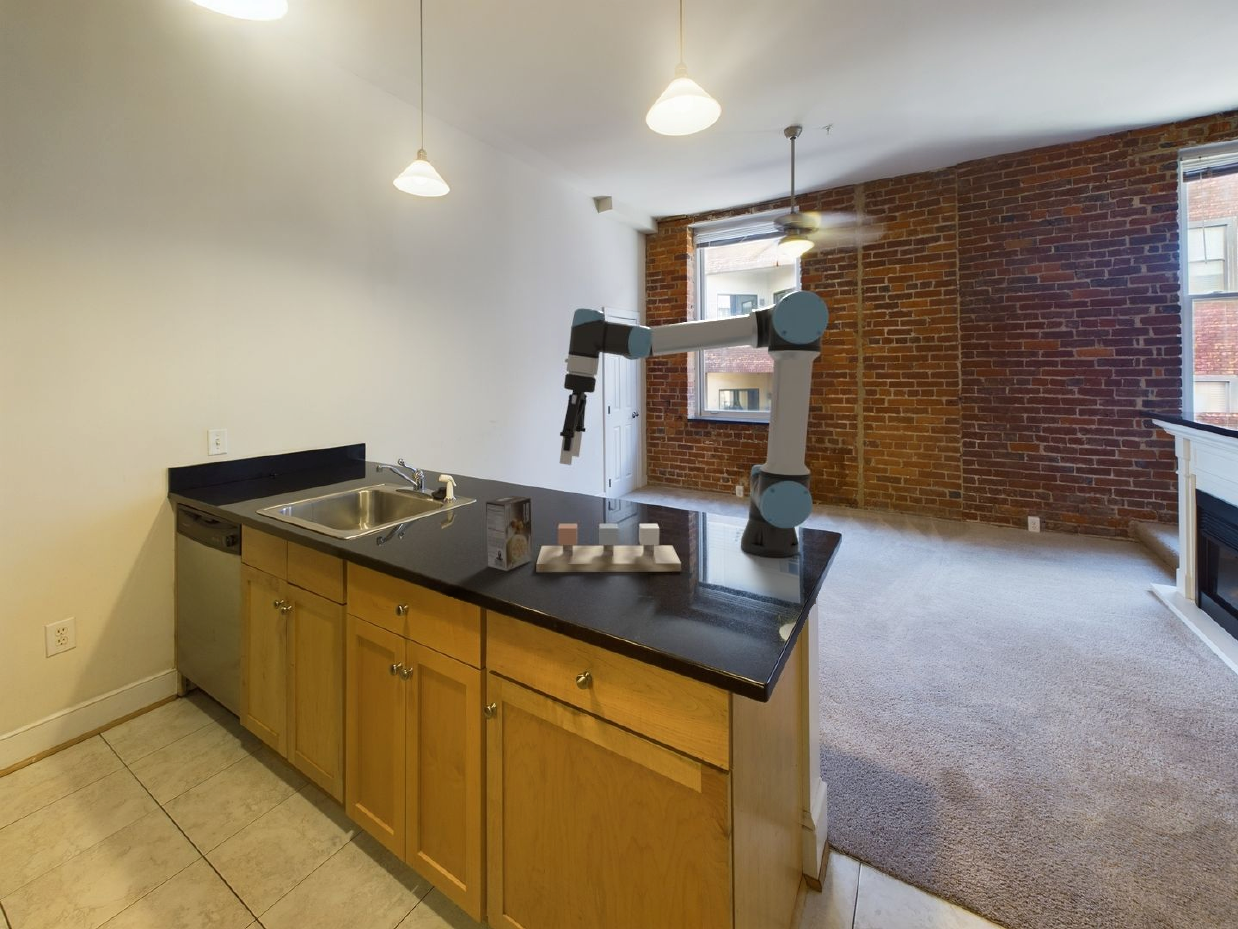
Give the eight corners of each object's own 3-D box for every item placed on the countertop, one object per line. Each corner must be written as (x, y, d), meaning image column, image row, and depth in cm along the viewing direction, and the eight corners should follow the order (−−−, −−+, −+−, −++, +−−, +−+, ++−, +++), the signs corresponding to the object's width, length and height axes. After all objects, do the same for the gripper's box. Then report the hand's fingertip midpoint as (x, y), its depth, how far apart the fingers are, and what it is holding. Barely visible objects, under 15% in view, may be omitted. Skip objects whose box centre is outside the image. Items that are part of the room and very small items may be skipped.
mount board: (672, 552, 140) (672, 534, 140) (680, 571, 126) (681, 551, 126) (542, 553, 138) (541, 534, 138) (536, 572, 125) (536, 551, 124)
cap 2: (656, 539, 135) (657, 523, 134) (658, 545, 130) (659, 528, 130) (638, 539, 134) (639, 523, 134) (640, 545, 130) (640, 528, 129)
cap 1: (577, 539, 134) (577, 523, 133) (576, 545, 129) (576, 528, 128) (559, 539, 133) (559, 523, 133) (558, 545, 129) (558, 528, 128)
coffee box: (513, 556, 136) (512, 494, 133) (532, 561, 132) (532, 497, 130) (486, 566, 128) (485, 501, 126) (506, 571, 125) (505, 504, 122)
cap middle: (617, 539, 134) (617, 523, 133) (618, 545, 130) (618, 528, 129) (599, 539, 134) (599, 523, 133) (599, 545, 129) (599, 528, 129)
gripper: (573, 373, 143) (563, 450, 146) (556, 371, 118) (545, 465, 121) (601, 377, 142) (590, 455, 146) (590, 376, 118) (577, 470, 121)
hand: (569, 459), depth 134 cm, fingers open, 13 cm apart
